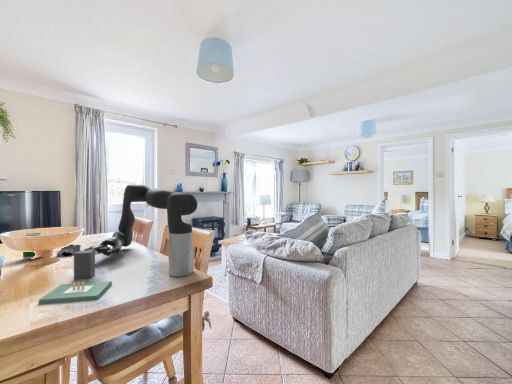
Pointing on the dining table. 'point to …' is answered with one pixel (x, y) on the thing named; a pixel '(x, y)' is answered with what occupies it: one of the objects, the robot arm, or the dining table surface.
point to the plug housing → (84, 264)
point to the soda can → (30, 254)
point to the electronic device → (69, 250)
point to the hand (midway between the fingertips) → (96, 254)
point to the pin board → (76, 292)
